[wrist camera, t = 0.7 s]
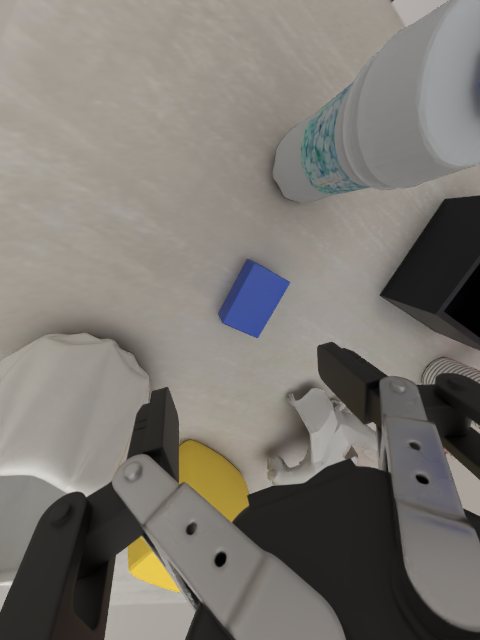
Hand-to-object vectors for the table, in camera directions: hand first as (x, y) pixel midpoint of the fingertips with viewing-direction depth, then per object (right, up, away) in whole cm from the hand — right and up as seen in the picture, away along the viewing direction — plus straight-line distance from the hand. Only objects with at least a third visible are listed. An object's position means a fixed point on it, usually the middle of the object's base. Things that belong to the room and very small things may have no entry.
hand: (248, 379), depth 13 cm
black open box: (+27, +10, +21) cm, 36 cm away
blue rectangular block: (+1, +6, +16) cm, 17 cm away
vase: (-17, -4, +15) cm, 23 cm away
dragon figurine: (+11, -13, +26) cm, 31 cm away
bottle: (+5, +18, +12) cm, 23 cm away
